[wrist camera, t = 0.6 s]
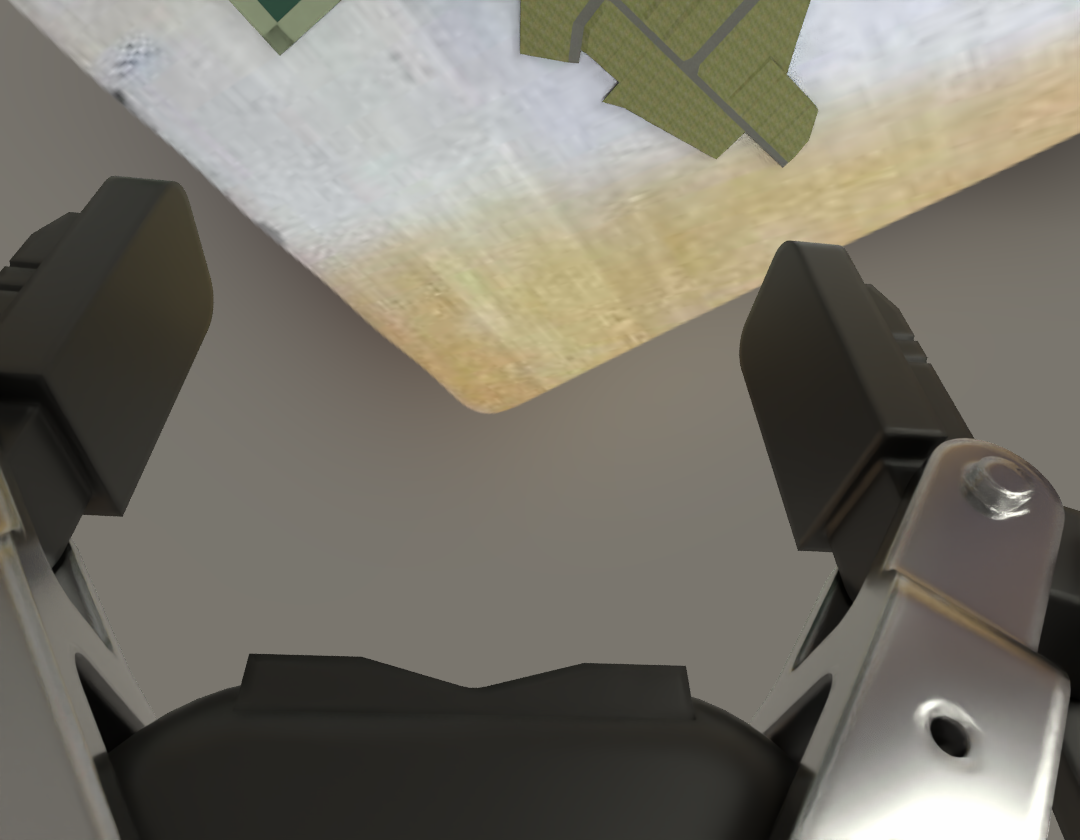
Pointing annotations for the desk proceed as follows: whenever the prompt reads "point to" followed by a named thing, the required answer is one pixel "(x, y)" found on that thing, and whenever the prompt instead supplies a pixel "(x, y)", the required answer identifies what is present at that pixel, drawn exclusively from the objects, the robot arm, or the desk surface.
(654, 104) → the map
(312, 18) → the chalkboard
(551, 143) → the desk surface
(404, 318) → the desk surface
